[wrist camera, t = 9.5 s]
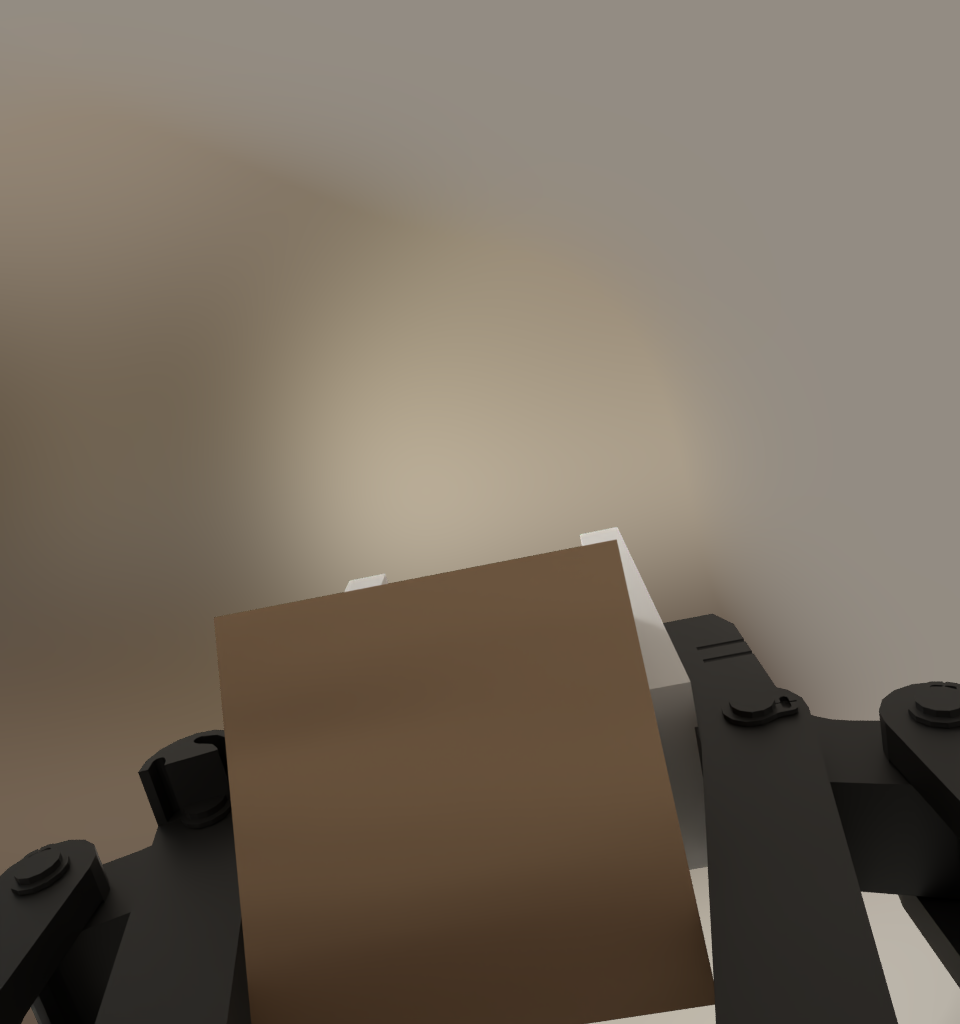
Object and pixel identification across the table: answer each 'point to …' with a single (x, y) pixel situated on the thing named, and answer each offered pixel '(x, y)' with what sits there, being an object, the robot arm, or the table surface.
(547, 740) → the bar
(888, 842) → the robot arm
